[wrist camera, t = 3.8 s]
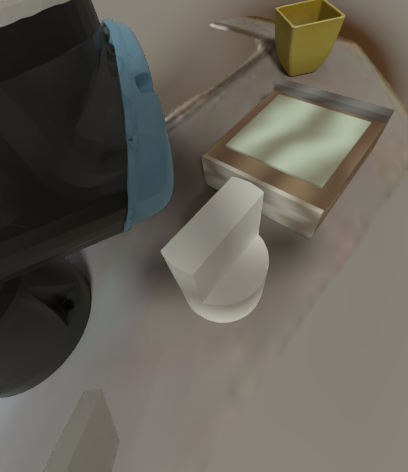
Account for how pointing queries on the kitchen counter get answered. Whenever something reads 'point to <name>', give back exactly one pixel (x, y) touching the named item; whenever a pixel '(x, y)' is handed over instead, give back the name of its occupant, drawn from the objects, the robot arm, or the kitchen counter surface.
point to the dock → (298, 151)
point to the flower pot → (306, 34)
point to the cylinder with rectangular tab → (222, 254)
